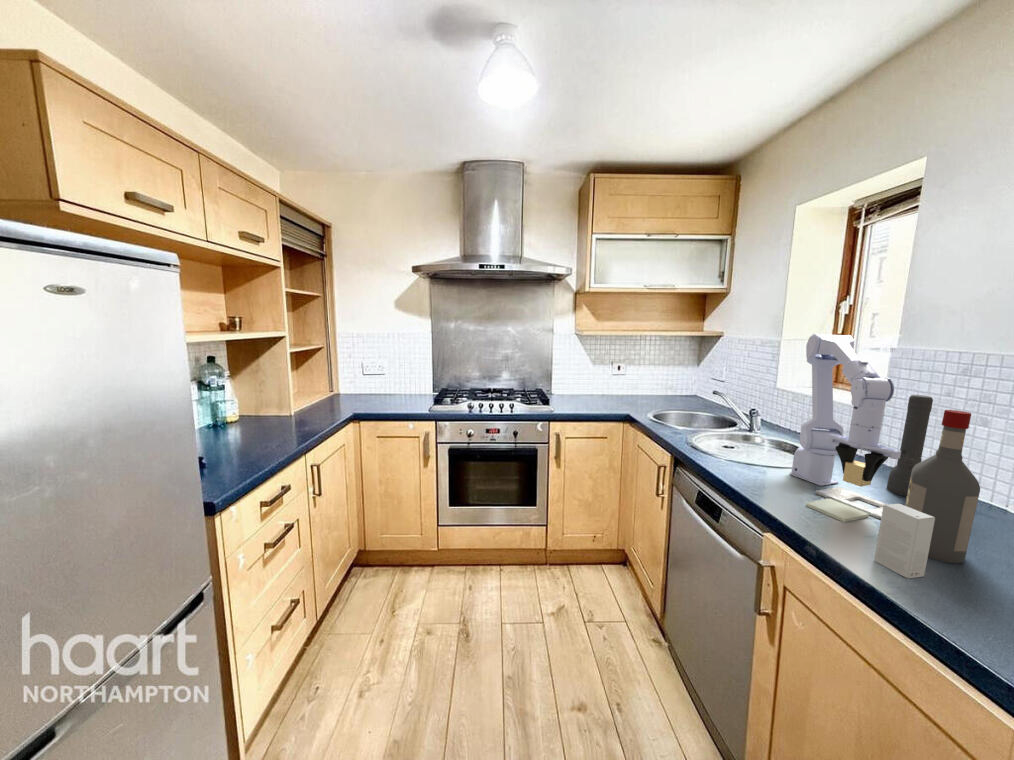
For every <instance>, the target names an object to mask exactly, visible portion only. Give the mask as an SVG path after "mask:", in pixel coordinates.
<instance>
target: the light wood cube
mask: <svg viewBox="0 0 1014 760" xmlns="http://www.w3.org/2000/svg"><path fill="white" fill-rule="evenodd" d="M864 472H865V462H862V461H858V460H854V461H849V462H846V464H845V470H844V474H843V477H842V481H843V482H846V483H849V484H851V485H855V486H858V487H866V486H871V484H872V481H864Z"/></svg>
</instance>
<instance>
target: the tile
mask: <svg viewBox="0 0 1014 760" xmlns="http://www.w3.org/2000/svg"><path fill="white" fill-rule="evenodd" d="M805 506H806V507H808V508H811V509H813V510H815V511H818V512H820V513H821V514H824V515H826V516H829V517H832V518H833V519H835V520H838V521H841V522H843V523H847V522H852V521H857V520H861V519H865V518H866V519H867V518H869V516H870V515H869V514H868V513H865V512H863V511H860V510H857V509H855V508H852V507H850V506H847V505H845V504H842V503H840V502H837V501H835V500H832V499H830V498H829V499H828V498H824V499H820V500H814V501H809V502H806V503H805Z"/></svg>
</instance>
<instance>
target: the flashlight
mask: <svg viewBox="0 0 1014 760" xmlns="http://www.w3.org/2000/svg"><path fill="white" fill-rule="evenodd" d="M933 402H934V399H933V397H932V396H927V395H924V394H923V395H921V394H911V395H910V396H909V397H908V403H907V407H906V409H907V411H906V417H905V421H904V427H903V433H902V436H901V437H902V438H901V443H900V449H899V451H901V455H900V459H897V462H896V465H895V466H893V467H892V468H891V470H890V471H889V474H888V479H887V483H886V490H887V491H888V492H890V493H893V494H896V495H899V496H904V497H907V493H908V488H909V483H910V477H911V472H912V469H913V467H914V466H915V465H916V464H918V463H920V462H922V461H923V460H922V457H923V452H924V446H925V441H926V436H927V431H928V425H929V421H930V415H931V412H932V407H933V404H934V403H933Z"/></svg>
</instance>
